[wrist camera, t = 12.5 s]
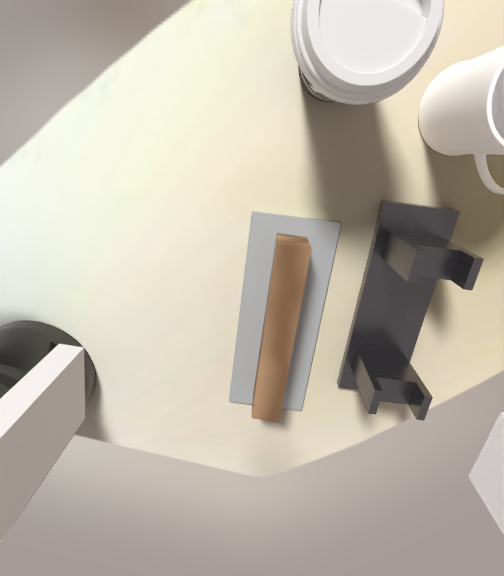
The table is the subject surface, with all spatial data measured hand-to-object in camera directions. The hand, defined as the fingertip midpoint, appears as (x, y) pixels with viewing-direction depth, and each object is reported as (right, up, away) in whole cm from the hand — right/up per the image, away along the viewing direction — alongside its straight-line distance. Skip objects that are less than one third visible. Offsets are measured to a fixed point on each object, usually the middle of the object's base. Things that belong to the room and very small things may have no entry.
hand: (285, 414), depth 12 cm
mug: (+20, +20, +25) cm, 38 cm away
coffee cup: (+7, +26, +24) cm, 36 cm away
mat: (+2, 0, +34) cm, 34 cm away
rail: (+2, 0, +33) cm, 34 cm away
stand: (+16, +2, +33) cm, 36 cm away
